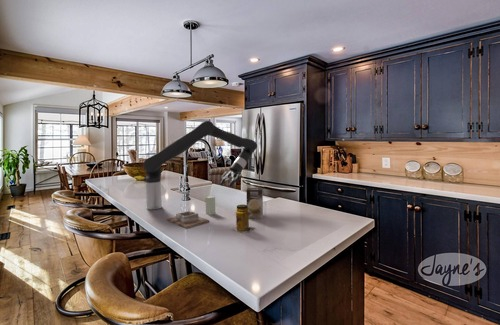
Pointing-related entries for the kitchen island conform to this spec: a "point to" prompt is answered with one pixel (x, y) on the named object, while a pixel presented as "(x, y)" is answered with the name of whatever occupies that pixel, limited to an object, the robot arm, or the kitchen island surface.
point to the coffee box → (255, 202)
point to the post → (210, 205)
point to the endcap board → (187, 219)
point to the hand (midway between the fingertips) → (225, 185)
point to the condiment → (242, 219)
